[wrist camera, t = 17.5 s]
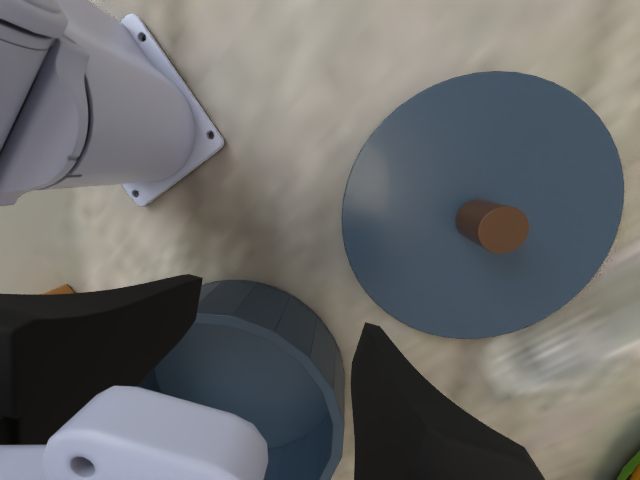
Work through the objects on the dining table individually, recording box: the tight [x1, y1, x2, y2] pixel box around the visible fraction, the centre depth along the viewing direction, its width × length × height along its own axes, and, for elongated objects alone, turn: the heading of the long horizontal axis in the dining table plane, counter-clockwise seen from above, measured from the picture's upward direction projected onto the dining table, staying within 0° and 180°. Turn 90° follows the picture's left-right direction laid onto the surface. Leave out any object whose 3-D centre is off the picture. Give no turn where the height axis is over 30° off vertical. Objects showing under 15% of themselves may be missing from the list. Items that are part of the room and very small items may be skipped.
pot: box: [137, 280, 344, 480], centre depth 22 cm, size 16×16×5 cm
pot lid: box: [342, 71, 624, 339], centre depth 18 cm, size 17×17×4 cm
